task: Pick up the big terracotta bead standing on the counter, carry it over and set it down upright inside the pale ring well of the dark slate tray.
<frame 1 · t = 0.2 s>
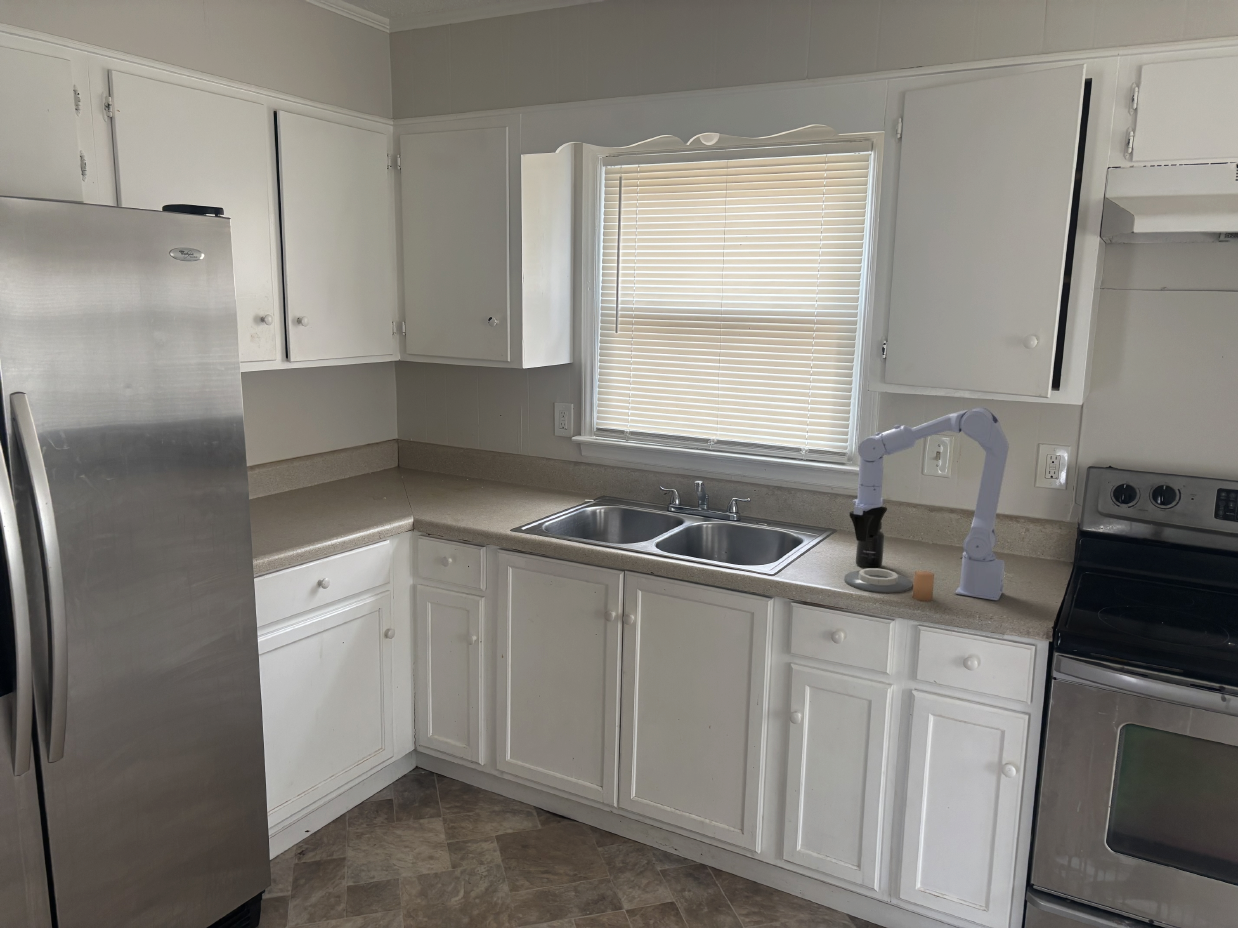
hand: (866, 537, 226), 10 cm above the countertop, tool pointing down, fingers open, 7 cm apart
tray: (877, 582, 222), on the countertop
supplement bottle: (868, 566, 237), on the countertop
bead: (922, 597, 211), on the countertop
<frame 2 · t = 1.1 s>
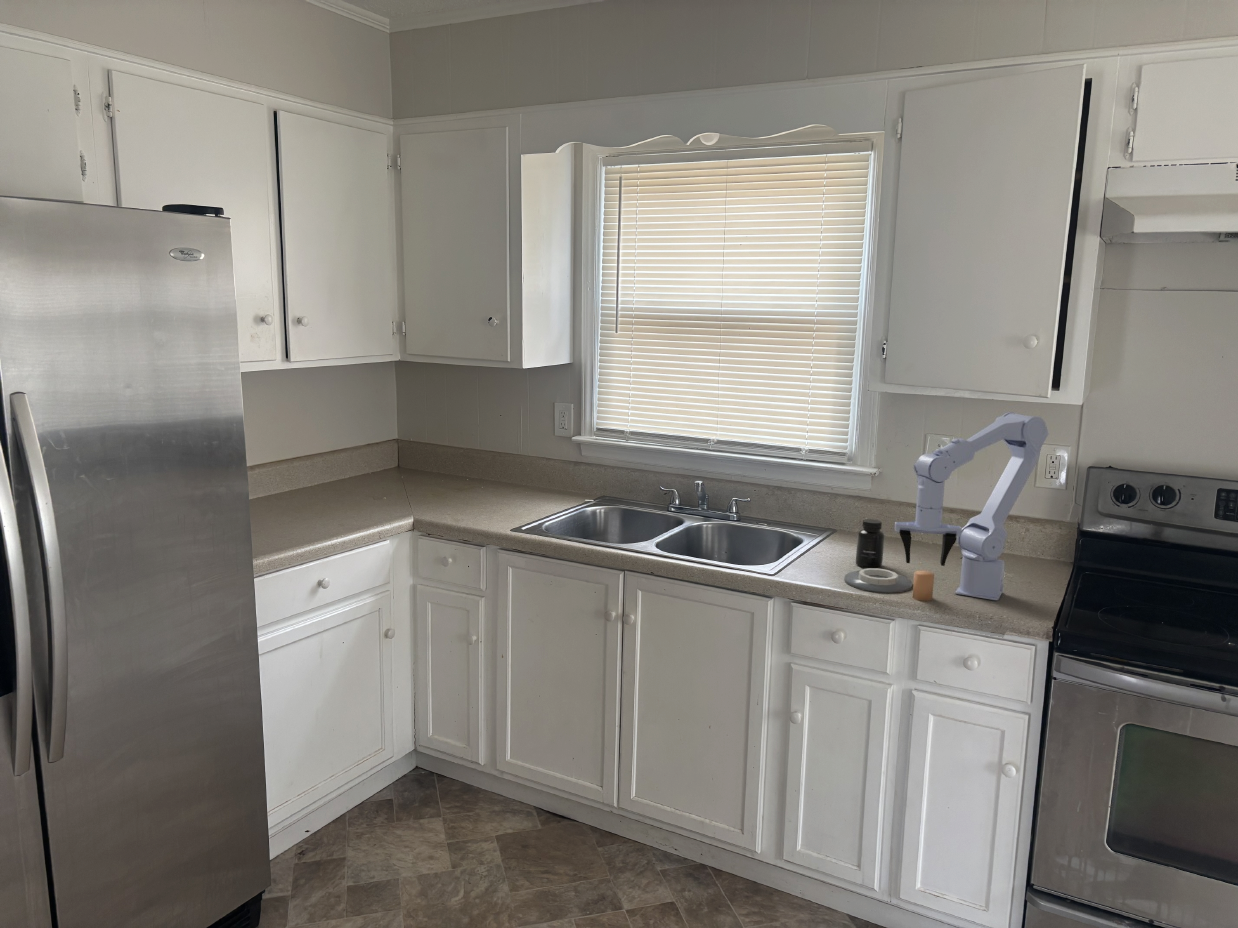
hand: (925, 563, 210), 8 cm above the countertop, tool pointing down, fingers open, 7 cm apart
nothing on the countertop moved.
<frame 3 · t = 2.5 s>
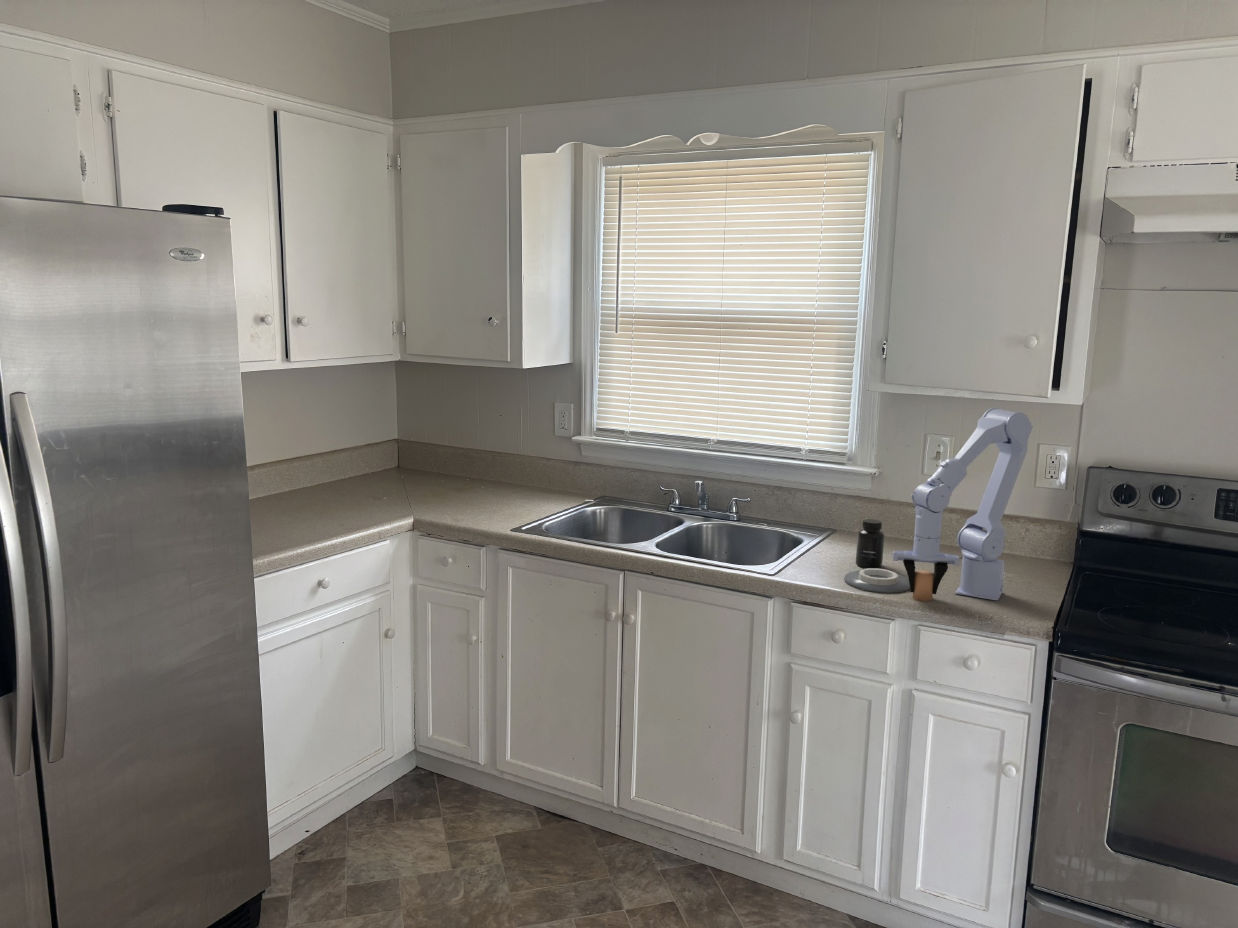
hand: (922, 592, 211), 1 cm above the countertop, tool pointing down, fingers closed on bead, 4 cm apart
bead: (922, 597, 211), on the countertop, touching gripper
everything else where it was.
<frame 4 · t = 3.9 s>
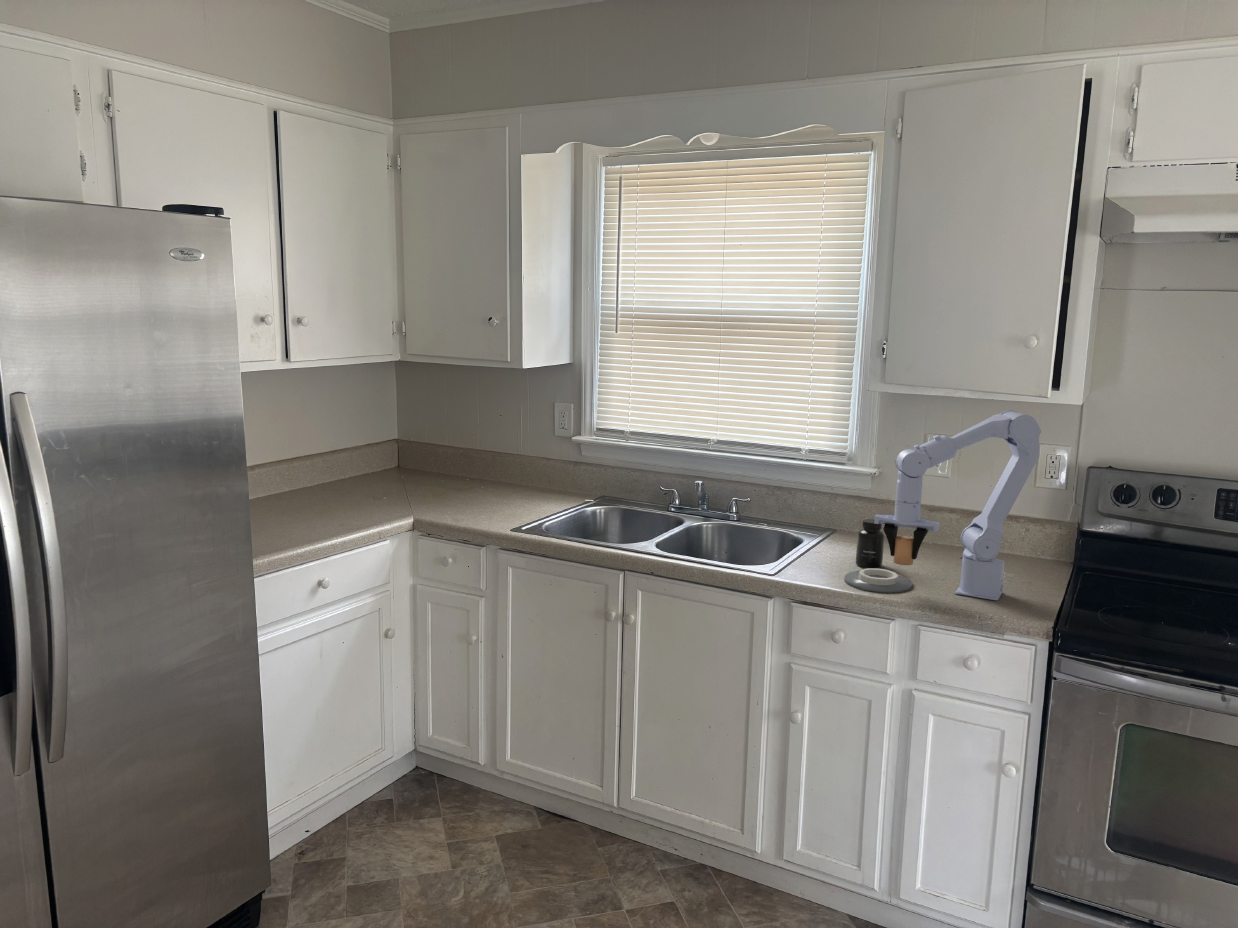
hand: (903, 556, 215), 8 cm above the countertop, tool pointing down, fingers closed on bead, 4 cm apart
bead: (903, 562, 215), point 7 cm above the countertop, touching gripper
everything else where it was.
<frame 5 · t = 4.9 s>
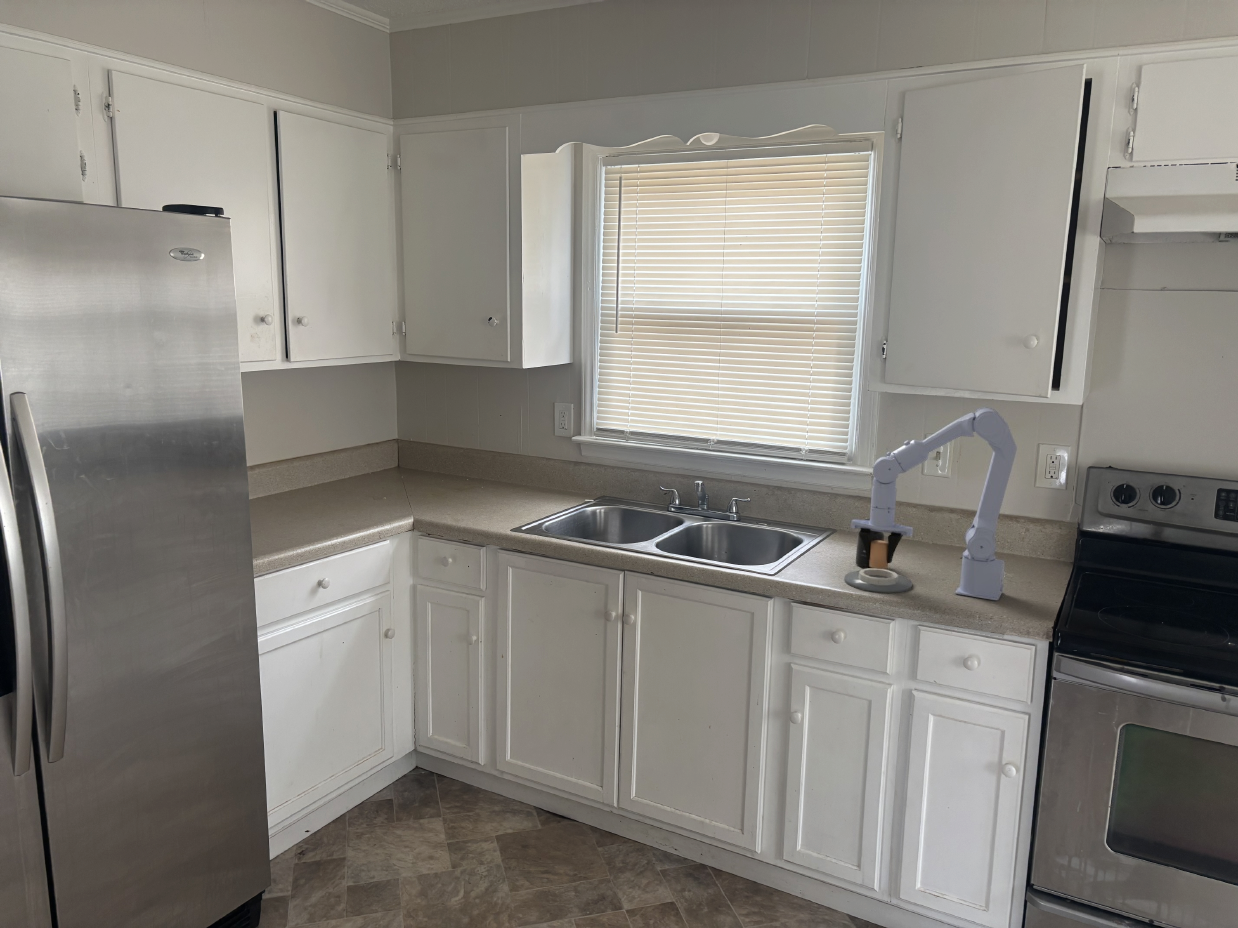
hand: (879, 560, 221), 6 cm above the countertop, tool pointing down, fingers closed on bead, 4 cm apart
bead: (878, 566, 221), point 4 cm above the countertop, touching gripper
everything else where it was.
when the fingers open (4 cm above the countertop, at t = 5.7 s): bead drops 1 cm, resting on tray.
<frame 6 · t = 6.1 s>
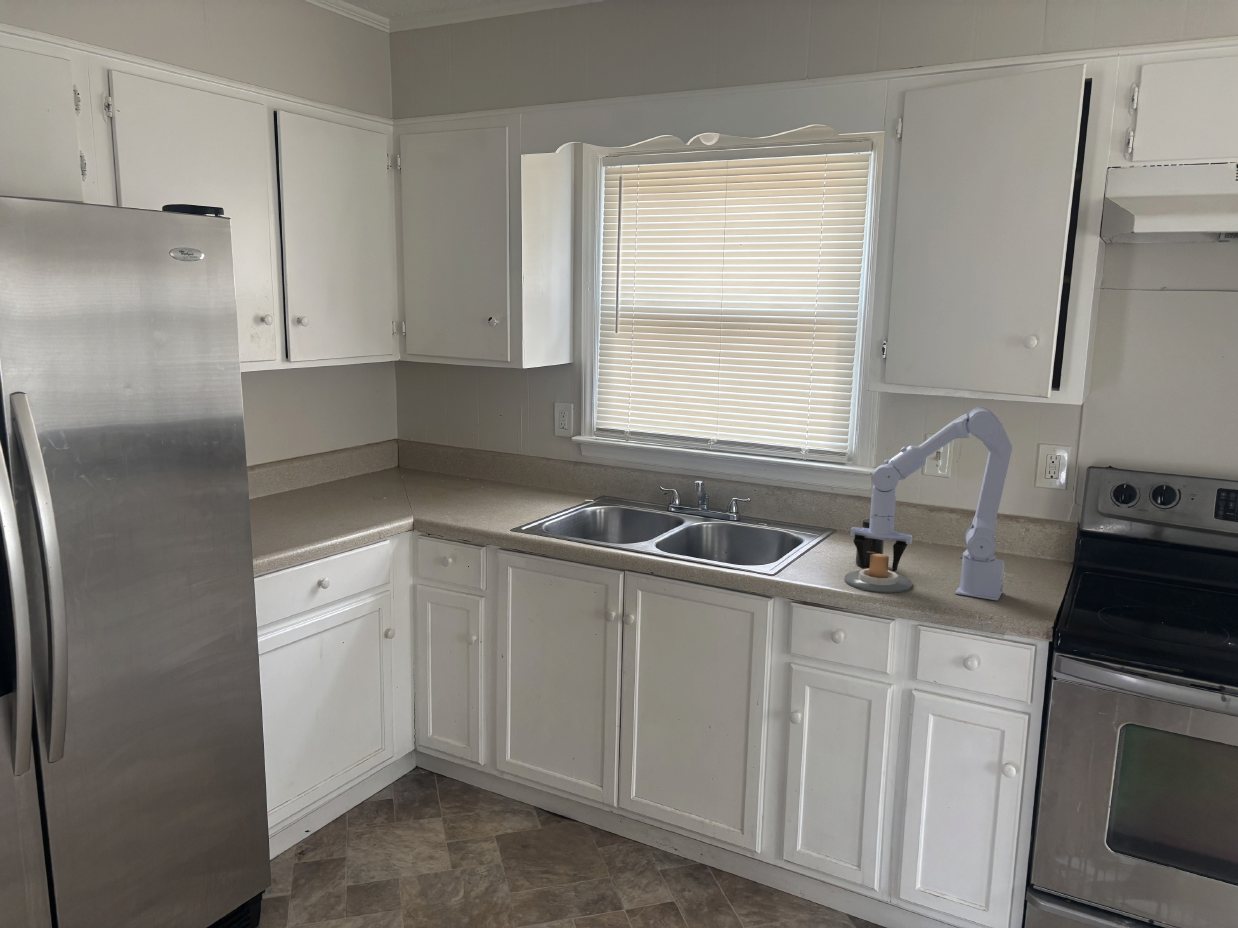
hand: (878, 568, 222), 4 cm above the countertop, tool pointing down, fingers open, 7 cm apart
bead: (877, 579, 222), point 1 cm above the countertop, touching tray
everything else where it was.
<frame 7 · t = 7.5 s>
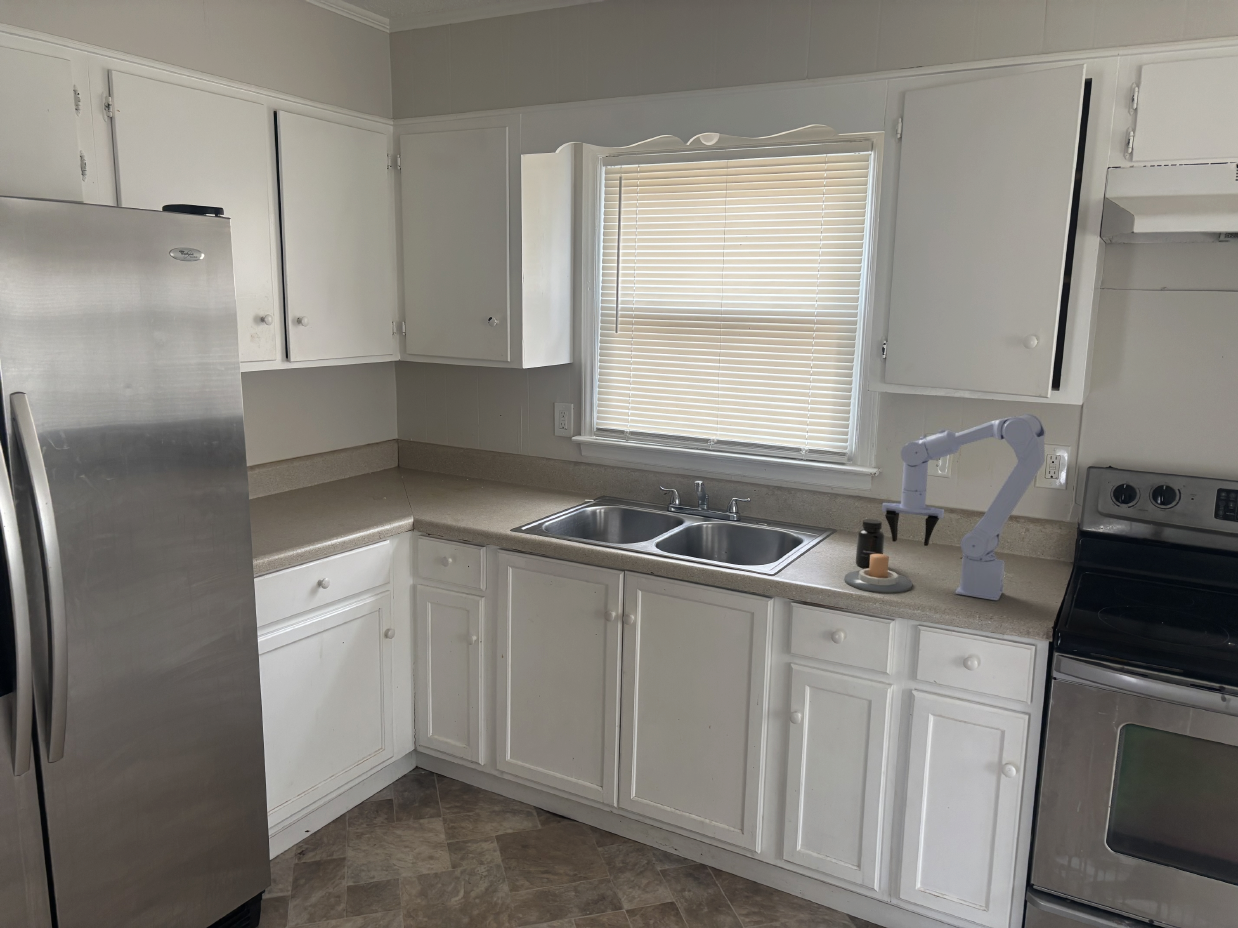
hand: (910, 542, 224), 9 cm above the countertop, tool pointing down, fingers open, 7 cm apart
nothing on the countertop moved.
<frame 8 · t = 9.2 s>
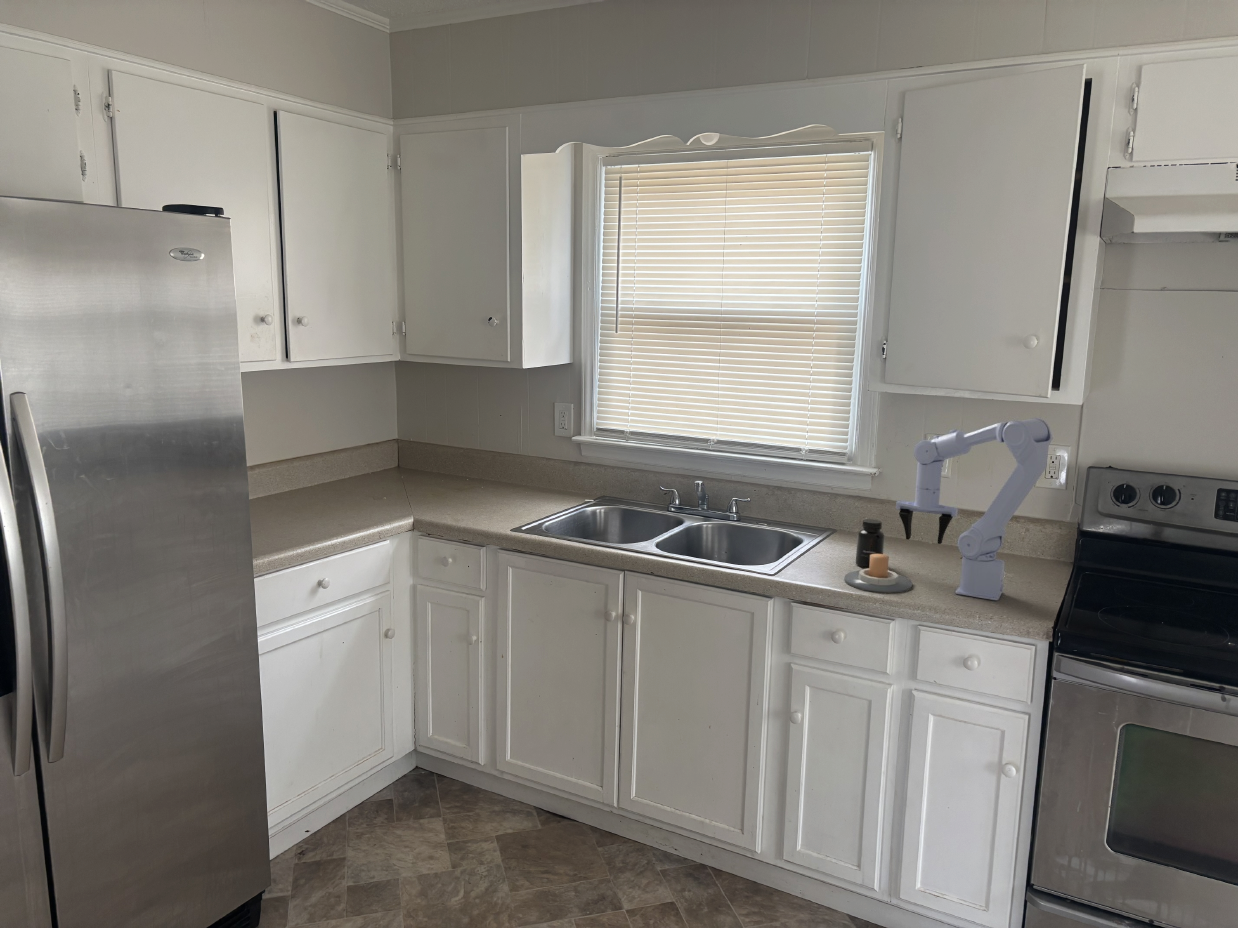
hand: (923, 540, 226), 9 cm above the countertop, tool pointing down, fingers open, 7 cm apart
nothing on the countertop moved.
at the end: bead 0.2 cm off-centre on the tray, point 0.8 cm above the tray's base; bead tilted 0°; the gripper is holding nothing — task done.
